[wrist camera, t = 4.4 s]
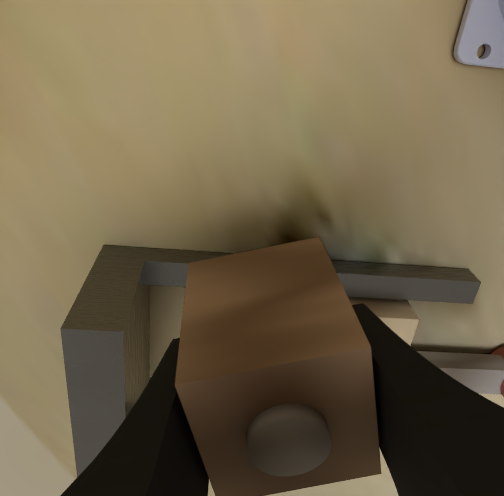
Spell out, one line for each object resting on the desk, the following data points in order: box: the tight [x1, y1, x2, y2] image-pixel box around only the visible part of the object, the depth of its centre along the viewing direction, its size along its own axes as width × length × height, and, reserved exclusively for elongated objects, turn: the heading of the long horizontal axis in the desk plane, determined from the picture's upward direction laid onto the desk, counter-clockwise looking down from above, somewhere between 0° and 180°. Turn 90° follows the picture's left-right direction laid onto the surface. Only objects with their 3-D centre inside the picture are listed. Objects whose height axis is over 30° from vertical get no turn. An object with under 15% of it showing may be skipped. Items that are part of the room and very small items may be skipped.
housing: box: [175, 237, 381, 496], centre depth 12 cm, size 4×4×5 cm
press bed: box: [347, 296, 504, 397], centre depth 22 cm, size 15×8×4 cm, turn 84°
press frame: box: [61, 245, 481, 477], centre depth 21 cm, size 17×11×6 cm, turn 84°
